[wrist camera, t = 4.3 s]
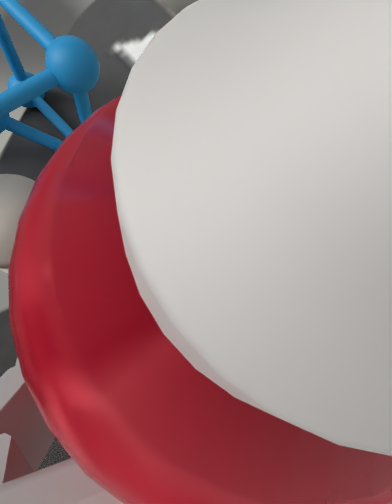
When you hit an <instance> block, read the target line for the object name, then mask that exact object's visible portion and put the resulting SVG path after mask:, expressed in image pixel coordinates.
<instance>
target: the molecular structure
mask: <svg viewBox="0 0 392 504" xmlns="http://www.w3.org/2000/svg"><path fill="white" fill-rule="evenodd" d="M0 5H1V6H2V7H3V8H4V9H5V10H6V11H7V12H8V13H9V14H10V15H11V16H12V17H13V18H14V19H15V20H16V21H17V22H18V23H19V24H20V25H21V26H22V27H23V28H24V29H25V30H26V31H27V32H28V33H29V34H30V35H31V36H32V37H33V38H34V39H35V40H36V41H37V42H38V43H39V44H40V45H41V46H42V47H43V48H44V49H45V50H46V55H45V64H46V69H45V70H44V71H42V72H40V73H38V74H36V75H33V74H31V73H29V72H26V71H24V69H23V66H22V64H21V62H20V59H19V57H18V55H17V52H16V50H15V48H14V46H13V43H12V41H11V38H10V36H9V34H8V31H7V29H6V27H5V24H4V22H3V20H2V17H1V15H0V46H1V49H2V51H3V53H4V55H5V57H6V59H7V61H8V63H9V66H10V68H11V70H12V72H13V75H12V76H11V77H10V79H9V82H8V89H7V90H6V91H4V92H2V93H0V133H1V132H3V131H4V130H5V129H6V130H8V131H11V132H13V133H16V134H18V135H20V136H23V137H25V138H27V139H30V140H32V141H34V142H37V143H39V144H41V145H44V146H46V147H48V148H51V149H53V150H57V149H58V147H59V146H60V145H61V143H62V142H63V141H62V140H60V139H57V138H55V137H53V136H51V135H48V134H46V133H44V132H42V131H40V130H37V129H35V128H33V127H31V126H29V125H26V124H24V123H22V122H20V121H17V120H15V119H13V118H10V117H9V112H11V111H13V110H15V109H16V108H18V107H20V106H23V107H27V108H33V107H37V108H38V109H39V110H40V111H41V112H42V113H43V114H44V116H45V117H46V118H47V119H48V120H49V121H50V122H51V123H52V124H53V125H54V126H55V127H56V128H57V129H58V130H59V131H60V132H61V133H62V134H63V135H64V136H65V137H67V136H68V135H69V134H71V133H72V132H73V131H74V130H73V129H72V128H71V127H70V126H69V125H68V124H67V123H66V122H65V121H64V120H63V119H62V118H61V117H60V116H59V115H58V114H57V113H56V112H55V111H54V110H53V109H52V108H51V107H50V106H49V105H48V104H47V103H46V102H45V101H44V96H45V92H47V91H49V90H51V89H53V88H54V87H56V86H58V87H59V88H60V89H62V90H64V91H66V92H68V93H71V94H73V97H74V100H75V104H76V108H77V111H78V115H79V118H80V122H81V123H83V122H84V121H85V120H86V119H87V118H88V117H89V116H90V115H91V114H92V110H91V106H90V101H89V97H88V92H89V91H90V90H91V89H93V88H94V86H95V85H96V84H97V82H98V79H99V76H100V65H99V61H98V58H97V55H96V54H95V52H94V50H93V49H92V48H91V47H90V45H89V44H88V43H87V42H85V41H84V40H82V39H81V38H78V37H75V36H72V35H63V36H60V37H57V38H56V37H55V36H54V35H53V34H51V32H50V31H48V29H47V28H46V27H45V26H44V25H42V24H41V23H40V22H39V21H38V20H37V19H36V18H35V17H34V16H33V15H32V14H31V13H30V12H29V11H28V10H27V9H26V8H25V7H24V6H23V5H22V4H21V3H20V2H19V1H18V0H0Z"/></svg>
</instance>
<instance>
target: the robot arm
mask: <svg viewBox="0 0 392 504" xmlns="http://www.w3.org/2000/svg"><path fill="white" fill-rule="evenodd" d="M54 439H55V437H54V435H53V434H52V433H51V432H50V430H49V429H48V427H47V425H46V423H45V421H44V419H43V417H42V415H41V413H40V411H39V409H38V407H37V405H36V403H35V401H34V399H33V397H32V395H31V393H30V391H29V389H28V387H27V385H26V383H25V381H24V379H23V377H22V372H21V368H20V364H19V360H18V357H17V361H16V366H15V367H12V368H9V369H8V370H7V371H6V372H5V373H4V374H3V375H2V376H1V377H0V504H123V503H121V502H120V501H119V500H118V499H116V498H115V497H114V496H112V495H111V494H110V493H109V492H107V491H106V490H105V489H103V488H102V487H101V486H99V485H98V484H97V483H96V482H94V481H93V480H92V479H90V478H89V477H88V476H87V475H85V473H84V472H83V471H82V470H81V468H80V467H79V466H78V465H77V464H76V462H75V461H74V460H73V459H72V458H70V459H67V460H64V461H62V462H59V463H56V464H54V465H51V466H48V467H46V468H43V469H40V470H38V469H39V467H40V465H41V463H42V461H43V460H44V458H45V456H46V454H47V452H48V450H49V448H50V447H51V445H52V443H53V441H54Z"/></svg>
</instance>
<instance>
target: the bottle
mask: <svg viewBox="0 0 392 504" xmlns="http://www.w3.org/2000/svg"><path fill="white" fill-rule="evenodd" d="M8 278H9V323H10V327H11V331H12V335H13V339H14V344H15V348H16V352H17V356H18V360H19V364H20V368H21V372H22V377H23V379H24V381H25V383H26V385H27V387H28V389H29V391H30V393H31V395H32V397H33V399H34V401H35V403H36V405H37V407H38V409H39V411H40V413H41V415H42V417H43V419H44V421H45V423H46V425H47V427H48V429H49V430H50V432H51V433H52V434H53V435H54V437H55V438H56V439H57V440H58V441H59V443H60V444H61V445H62V446H63V448H64V449H65V450H66V451H67V453H68V454H69V455H70V456H71V457H72V459H73V460H74V461H75V462H76V464H77V465H78V466H79V467H80V468H81V470H82V471H83V472H84V473H85V475H87V476H88V477H89V478H90V479H92V480H93V481H94V482H96V483H97V484H98V485H99V486H101V487H102V488H103V489H105V490H106V491H107V492H109V493H110V494H111V495H112V496H114V497H115V498H116V499H118V500H119V501H120V502H121V503H123V504H392V0H198V1H197V2H195V3H193V4H191V5H189V6H187V7H186V8H184V9H183V10H182V11H181V12H180V13H179V14H177V15H176V16H175V17H174V18H173V19H172V20H171V21H169V22H168V23H167V24H166V25H165V26H164V27H163V28H161V29H160V30H159V31H158V32H157V33H156V34H155V35H154V37H153V38H152V40H151V41H150V43H149V44H148V45H147V47H146V48H145V50H144V51H143V53H142V54H141V56H140V57H139V58H138V60H137V61H136V63H135V64H134V66H133V67H132V69H131V72H130V74H129V77H128V80H127V82H126V85H125V88H124V91H123V93H122V95H120V96H118V97H117V98H115V99H114V100H112V101H110V102H109V103H107V104H105V105H104V106H102V107H100V108H99V109H97V110H96V111H95V112H94V113H92V114H91V115H90V116H89V117H88V118H87V119H86V120H85V121H84V122H83V123H81V124H80V125H79V126H78V127H77V128H76V129H75V130H74V131H73V132H72V133H71V134H69V135H68V136H67V137H66V138H65V139H64V140H63V142H62V143H61V145H60V146H59V147H58V149H57V150H56V152H55V153H54V154H53V156H52V157H51V158H50V160H49V161H48V163H47V164H46V165H45V167H44V168H43V170H42V171H41V172H40V174H39V175H38V177H37V179H36V181H35V183H34V186H33V188H32V190H31V192H30V195H29V197H28V199H27V202H26V204H25V206H24V208H23V211H22V213H21V215H20V217H19V220H18V225H17V230H16V235H15V240H14V245H13V249H12V254H11V259H10V264H9V269H8Z"/></svg>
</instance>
